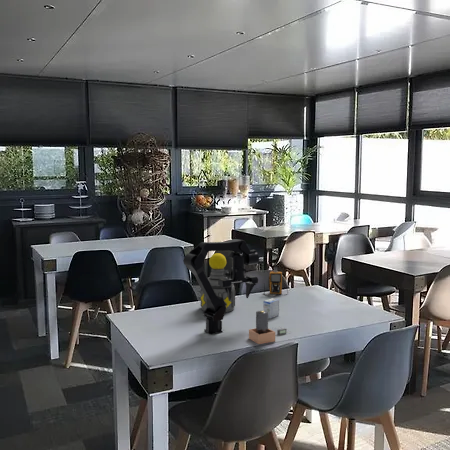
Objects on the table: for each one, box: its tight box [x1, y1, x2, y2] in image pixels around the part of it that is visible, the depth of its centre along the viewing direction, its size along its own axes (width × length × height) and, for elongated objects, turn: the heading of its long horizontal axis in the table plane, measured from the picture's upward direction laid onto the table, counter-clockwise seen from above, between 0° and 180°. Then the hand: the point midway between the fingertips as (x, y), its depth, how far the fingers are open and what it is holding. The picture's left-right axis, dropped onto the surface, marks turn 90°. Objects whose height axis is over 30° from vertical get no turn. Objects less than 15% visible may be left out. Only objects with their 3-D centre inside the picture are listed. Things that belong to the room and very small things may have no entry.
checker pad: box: [268, 326, 293, 337], centre depth 223 cm, size 10×10×2 cm
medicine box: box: [262, 297, 280, 319], centre depth 247 cm, size 8×4×9 cm, turn 141°
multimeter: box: [263, 260, 289, 297], centre depth 293 cm, size 15×10×20 cm
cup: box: [248, 327, 276, 345], centre depth 211 cm, size 8×8×4 cm
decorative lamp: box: [200, 252, 236, 314], centre depth 262 cm, size 19×19×30 cm
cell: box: [255, 310, 269, 334], centre depth 211 cm, size 5×5×12 cm
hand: (238, 299), depth 231 cm, fingers open, 9 cm apart
